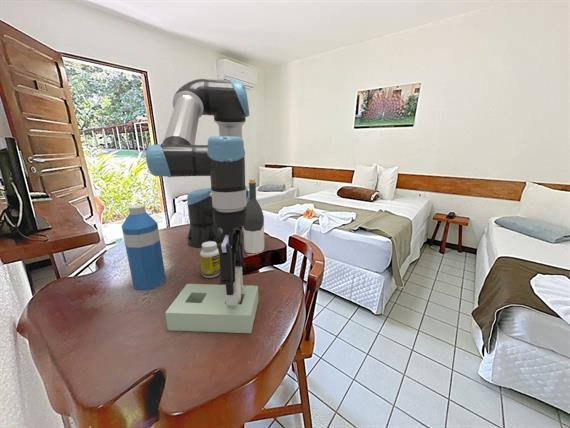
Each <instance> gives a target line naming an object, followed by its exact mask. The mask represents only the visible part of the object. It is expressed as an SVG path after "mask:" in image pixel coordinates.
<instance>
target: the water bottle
mask: <svg viewBox="0 0 570 428" xmlns="http://www.w3.org/2000/svg"><path fill="white" fill-rule="evenodd" d="M128 211H129V214H128V215H127V217H126V219H125V220H124V221H123V224H122V225H121V230H122V235H123V240H124V246H125V250H126V251H125V252H126V255H127V262H128V266H129V271H130V277H131V281H132V286H133V287H134V289H135V290H136V291H149V290H151V289H154V288H157V287H158V288H159V287H161V285H162V284H163V283H164V282H165V281H166V280H167V279H166V271H165V265H164V257H163V251H162V246H161V239H160V232H159V226H158V222H157V221H156V220H155V219H154V218H153V217H152V216H151V215H150V214H148V212H146V211H147V210H146V206H145V205H144V204H134V205H131V206H128Z"/></svg>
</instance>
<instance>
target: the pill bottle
mask: <svg viewBox="0 0 570 428" xmlns="http://www.w3.org/2000/svg"><path fill="white" fill-rule="evenodd" d="M199 255H200V266H201V267H200V269H201V276H203V277H204V278H207V279H212V278H216V277H218V276H219V275H220V259H219V251H218V244H217V243H216V242H214V241H208V242H204V243H203V244H202V247H201V250H200V253H199Z"/></svg>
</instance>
